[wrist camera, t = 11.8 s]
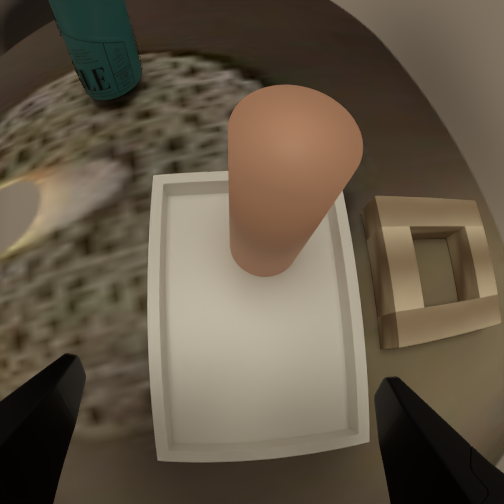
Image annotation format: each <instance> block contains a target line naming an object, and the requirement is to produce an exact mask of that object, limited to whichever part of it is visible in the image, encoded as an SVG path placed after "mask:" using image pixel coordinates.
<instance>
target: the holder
mask: <svg viewBox="0 0 504 504" xmlns="http://www.w3.org/2000/svg"><path fill="white" fill-rule="evenodd" d="M361 215H362V220H363V225H364V231H365V236H366V242H367V247H368V253H369V259H370V266H371V272H372V279H373V286H374V293H375V301H376V309H377V318H378V327H379V337H380V348H381V349H390V348H401V347H406V346H411V345H416V344H420V343H425V342H430V341H434V340H439V339H443V338H447V337H451V336H455V335H459V334H463V333H467V332H471V331H475V330H478V329H482V328H486V327H489V326H493V325H496V324H499V323H501V315H500V307H499V300H498V294H497V288H496V282H495V276H494V271H493V266H492V261H491V257H490V252H489V248H488V244H487V240H486V236H485V232H484V228H483V225H482V221H481V217H480V214H479V211H478V207H477V204H476V201H471V200H457V199H440V198H420V197H395V196H374V198H373V199H372V200H371V201H370V202H369V203H368V205H367V206H366V207H365V208H364V209H363V210H362V212H361ZM433 238H446V239H447V243H448V247H449V252H450V257H451V261H452V266H453V272H454V277H455V283H456V289H457V295H458V302H455V303H449V304H444V305H438V306H431V307H425V308H424V303H423V296H422V290H421V283H420V277H419V271H418V266H417V260H416V255H415V250H414V245H413V240H412V239H433Z"/></svg>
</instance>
